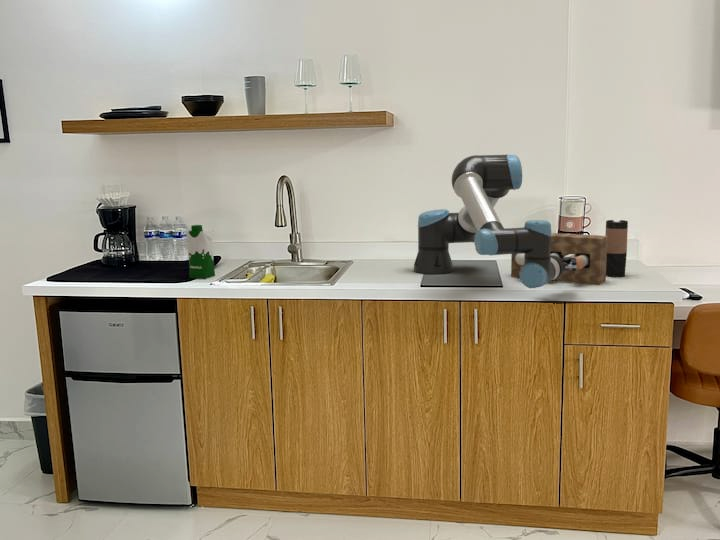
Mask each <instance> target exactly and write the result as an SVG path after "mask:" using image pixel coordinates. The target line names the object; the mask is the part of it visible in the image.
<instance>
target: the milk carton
mask: <svg viewBox="0 0 720 540" xmlns="http://www.w3.org/2000/svg"><path fill="white" fill-rule="evenodd" d="M214 230H215V229H211V228H210V229H206V228H204V229H203V225H201V224H193V225H191V226H190V230H186V231H185V235H186V239H187V251H188V269H189V271H188V273H189V279H203V280H206V279H209V278H212V277H215V276H216V273H215V262H214V261H215V260H214V245H213V244H214V243H213V240H214Z"/></svg>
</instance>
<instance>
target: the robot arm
mask: <svg viewBox="0 0 720 540" xmlns="http://www.w3.org/2000/svg"><path fill="white" fill-rule="evenodd" d="M451 175H452V176H451V187H452V189H453V191H454V193H455V194H456V196H458V197H459V198H461V200H462V201H461V202H462V203H463V204H464V206H463V207H462V208H461V209H460V210H459V212H450V211H449V210H448V209H446V208H443V209H442V208H441V209H433V210H427V211H424V212H422V213H420V214H419V215H418V220H417V227H418V228H417V231H418V233H417V234H418V235H417V236H418V237H417V245H418V247H417V249H418V250H417V254H416V258H415V260H414V264H413V272H416V273H420V274H425V275H427V274H428V275H436V274H437V275H439V274H448V273H452V272H453V271H454V264H453V261H452V258H451V255H450V251H449V246H450V245H449V244H462V243H463V244H464V243H465V244H466V243H474V247H475V252H476V253H477V254H478V255H481V256H500V255H503V256H504V255H512V254H524V266H523V267H522V269H521V270H520V274H519V276H520V278H519V280H520V282H521V284H523V286H525V287H526V288H528V289H529V288H530V289H537V288H540V287H544V286H545V285H547V284H548V283H550V282H552V280H555V279H557V278H559V277H560V276H561V275H562V274H563V272H564V271H566V270H568V268H570V270H573V271H576V267H577V263H576V258H574V257H575V254H569V255H567V256H564V257H563V255H560V257H557V256H554V255H551V237H552V236H551V233H552V224H551V223H550V221H548V220H543V219H531V220H526V221H525V222H524V226H522V227H513V228H511V227H510V228H507V227H506V228H504V226H503V224H502V221H501V220H500V218H499V216H498V215H497V212H496V210H495V208H494V207H495V206H496V205H497V204H498V201H499V199H501V198H504V197H505V196H507V195H508V193H509V192H510V190H513V191H515V190H519V189H521V187H522V182H523V167H522V162H521V160H520V158H519V157H518V155H517V154H508V153H507V154H488V155H487V154H482V155H469V156H468V157H465V158H464V159H462V160H461V161H460V162H459V163H457V164H456V166H455V168H454V169H453V171H452V174H451Z"/></svg>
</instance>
